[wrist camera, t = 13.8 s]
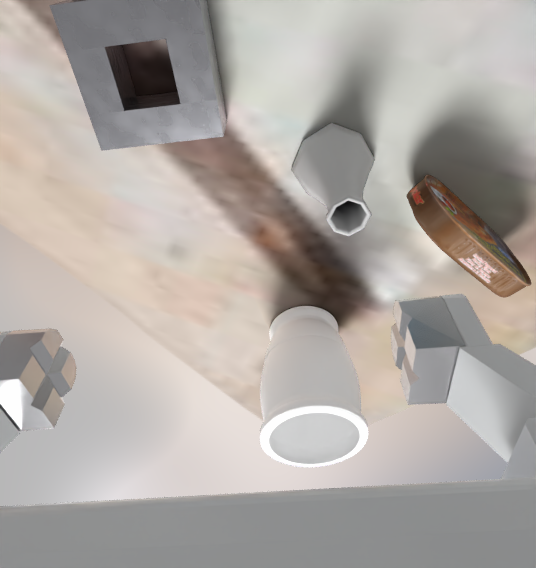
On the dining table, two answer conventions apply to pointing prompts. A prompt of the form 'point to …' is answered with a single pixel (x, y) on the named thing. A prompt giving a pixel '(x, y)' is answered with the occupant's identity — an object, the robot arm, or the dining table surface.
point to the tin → (466, 238)
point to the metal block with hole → (117, 80)
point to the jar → (309, 392)
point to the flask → (336, 175)
